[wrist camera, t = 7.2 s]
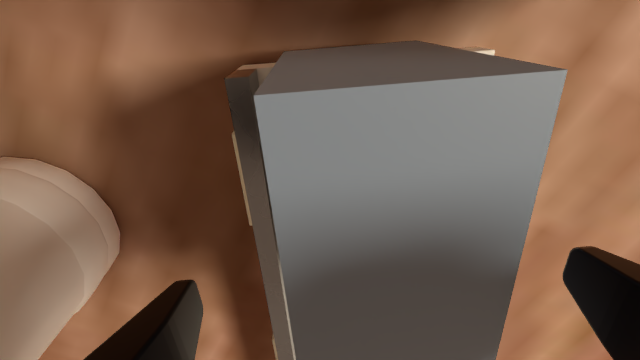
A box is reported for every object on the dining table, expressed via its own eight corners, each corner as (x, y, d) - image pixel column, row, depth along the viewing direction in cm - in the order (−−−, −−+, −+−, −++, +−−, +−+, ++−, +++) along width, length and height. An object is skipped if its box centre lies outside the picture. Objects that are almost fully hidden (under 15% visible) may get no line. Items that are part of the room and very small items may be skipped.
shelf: (237, 65, 14) (217, 79, 11) (476, 46, 14) (528, 55, 11) (289, 368, 23) (287, 425, 20) (436, 356, 23) (457, 411, 20)
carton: (415, 40, 12) (567, 69, 5) (406, 236, 16) (484, 405, 9) (280, 51, 12) (245, 96, 5) (303, 244, 16) (301, 421, 9)
